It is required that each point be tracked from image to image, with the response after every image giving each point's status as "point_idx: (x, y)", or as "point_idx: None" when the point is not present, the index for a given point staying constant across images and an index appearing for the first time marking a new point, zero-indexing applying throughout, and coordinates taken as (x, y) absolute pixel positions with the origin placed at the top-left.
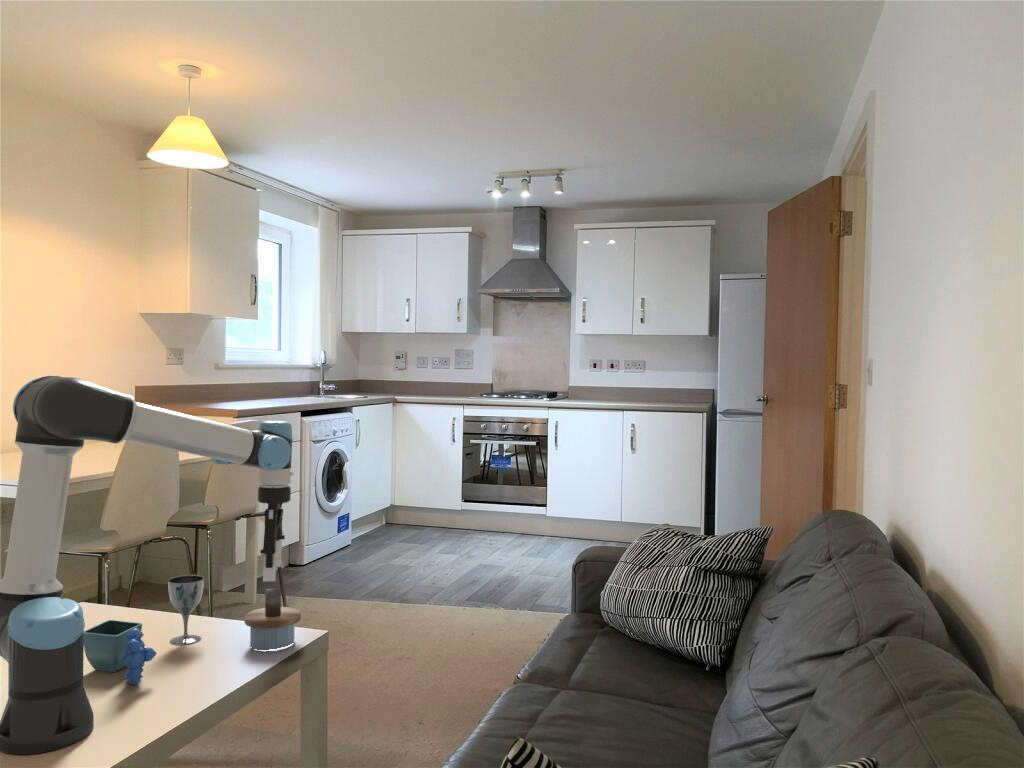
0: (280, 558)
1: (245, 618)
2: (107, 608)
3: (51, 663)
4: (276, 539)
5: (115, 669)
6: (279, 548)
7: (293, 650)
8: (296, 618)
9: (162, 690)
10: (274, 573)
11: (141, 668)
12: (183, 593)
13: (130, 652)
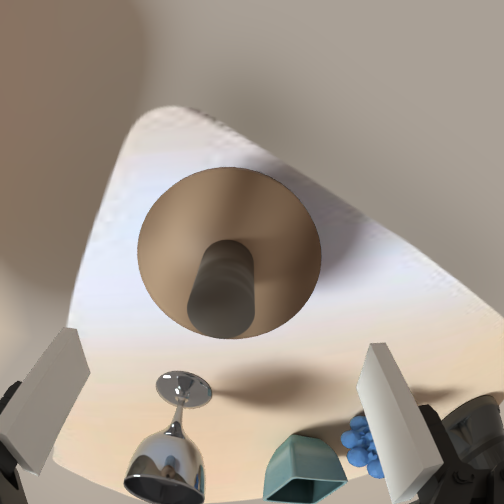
0: (56, 359)
1: (253, 335)
2: (61, 452)
3: None
4: (5, 454)
5: (322, 441)
6: (32, 406)
7: (289, 174)
8: (277, 183)
9: (415, 376)
10: (398, 372)
11: (365, 421)
12: (205, 478)
13: None
